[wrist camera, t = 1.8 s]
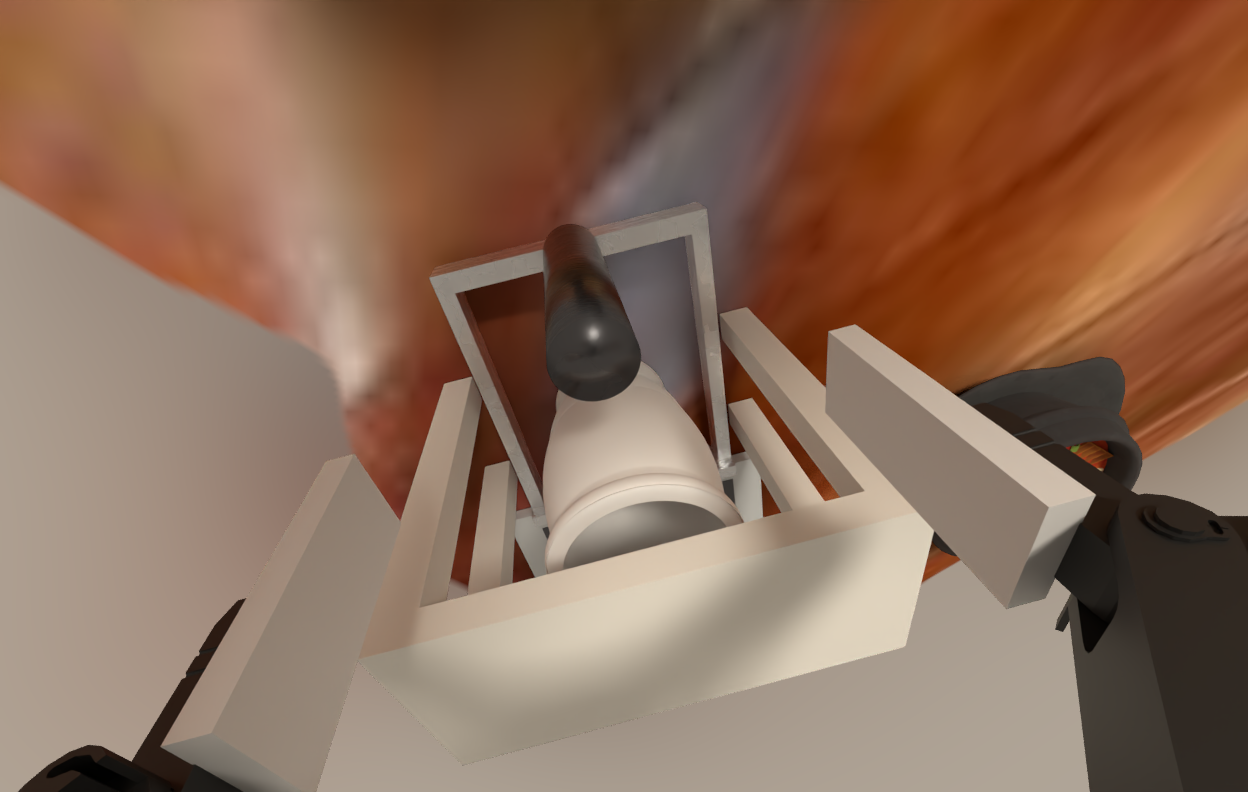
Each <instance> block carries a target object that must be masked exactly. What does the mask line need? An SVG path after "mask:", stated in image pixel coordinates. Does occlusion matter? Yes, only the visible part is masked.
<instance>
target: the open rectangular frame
mask: <svg viewBox="0 0 1248 792" xmlns="http://www.w3.org/2000/svg"><path fill="white" fill-rule="evenodd" d="M719 315H720V326H721V336H722V340H723V341H724V342H725V344H726V345H727V346H728V348H729V349H730V350H731V352H732V353H733V354H734V356H735V357H736V358H737V360H738V361H739V362H740V364H741V365H742V366H743V368H744V369H745V370H746V372H747V373H748V374H749V376H750V377H751V378H752V380H753V381H754V382H755V384H756V385H757V386H758V388H759V389H760V390H761V392H762V393H763V394H764V396H765V397H766V398H767V400H768V401H769V402H770V404H771V405H772V406H773V408H774V409H775V410H776V412H777V413H778V414H779V416H780V417H781V418H782V420H783V421H784V422H785V424H786V425H787V426H788V428H789V429H790V430H791V432H792V433H793V434H794V436H795V437H796V438H797V440H798V441H799V443H800V444H801V445H802V447H803V448H804V449H805V451H806V452H807V453H808V455H809V456H810V457H811V459H812V460H813V461H814V463H815V464H816V465H817V467H818V468H819V469H820V471H821V472H822V473H823V475H824V476H825V477H826V479H827V480H828V481H829V483H830V484H831V485H832V487H833V488H834V489H835V491H836V492H837V493H838V495H839V496H840V497H841V498H837V499H833V500H829V501H824V500H823V498H822V497H821V496H820V494H819V493H818V491H817V490H816V488H815V487H814V486H813V484H812V483H811V481H810V480H809V478H808V477H807V476H806V474H805V473H804V471H803V470H802V468H801V467H800V466H799V464H798V463H797V461H796V460H795V459H794V457H793V456H792V454H791V453H790V451H789V450H788V449H787V447H786V446H785V444H784V443H783V441H782V440H781V439H780V437H779V436H778V434H777V433H776V431H775V430H774V429H773V427H772V426H771V424H770V423H769V421H768V420H767V419H766V417H765V416H764V414H763V413H762V412H761V410H760V409H759V407H758V406H757V404H756V403H755V402H754V400H753V399H752V398H750V399H746V400H742V401H738V402H734V403H731V404H728V410H729V420H730V425H731V426H732V428H733V430H734V432H735V433H736V435H737V437H738V439H739V440H740V442H741V444H742V445H743V447H744V449H745V451H746V452H742V453H739V454H735V455H731V458H732V460H733V461H734V463H735V465H736V475H734V476H730V477H726V478H722V479H721V481H722V485H723V489H724V494H726V495H727V496H728V497H729V498H730V499H731V500H732V502H733V503H734V504H735V505H736V507H737V509H738V510H739V512H740V514H741V516H742V519H743V520H744V523H741V524H738V525H734V526H730V527H726V528H722V529H719V530H715V531H711V532H707V533H703V534H700V535H696V536H692V537H688V538H684V539H680V540H677V541H673V542H669V543H665V544H661V545H658V546H654V547H650V548H646V549H642V550H639V551H635V552H631V553H627V554H623V555H619V556H616V557H612V558H608V559H604V560H600V561H597V562H593V563H589V564H585V565H581V566H578V567H574V568H570V569H566V570H562V571H558V572H555V573H551V574H547V575H546V567H545V549H546V544H547V540H548V538H549V535H550V532H549V528H548V524H545V525H541V526H538V527H536V526H535V524H534V521H533V519H532V507H530V508H527V509H523V510H519V511H516V501H517V481H518V478H517V476H516V474H515V471H514V469H513V467H512V465H511V462H510V460H509V461H505V462H501V463H497V464H494V465H490V466H486V467H485V471H484V478H483V485H482V492H481V500H480V507H479V514H478V521H477V528H476V535H475V543H474V550H473V557H472V564H471V571H470V579H469V586H468V593H467V596H463V597H459V598H456V599H452V600H448V601H446V599H447V594H448V589H449V583H450V578H451V572H452V567H453V561H454V555H455V550H456V544H457V539H458V533H459V527H460V522H461V516H462V510H463V505H464V499H465V494H466V488H467V482H468V477H469V471H470V466H471V460H472V454H473V449H474V443H475V438H476V432H477V426H478V421H479V415H480V410H481V404H482V398H481V396H480V393H479V391H478V389H477V387H476V384H475V382H474V380H473V378H472V377H469V378H465V379H461V380H457V381H453V382H449V383H445V384H444V386H443V389H442V392H441V395H440V398H439V402H438V405H437V408H436V411H435V414H434V417H433V420H432V424H431V427H430V430H429V433H428V436H427V439H426V442H425V446H424V449H423V452H422V455H421V458H420V461H419V464H418V467H417V471H416V474H415V477H414V480H413V483H412V486H411V489H410V493H409V496H408V499H407V502H406V505H405V508H404V511H403V515H402V518H401V521H400V522H401V526H400V529H399V532H398V536H397V539H396V542H395V545H394V548H393V551H392V555H391V558H390V561H389V564H388V567H387V570H386V573H385V577H384V580H383V583H382V586H381V589H380V592H379V595H378V599H377V602H376V605H375V608H374V611H373V614H372V617H371V621H370V624H369V627H368V630H367V633H366V636H365V640H364V643H363V646H362V649H361V652H360V655H359V658H358V662H359V663H360V664H361V665H362V666H363V667H364V668H365V669H366V670H367V671H368V672H369V673H370V674H371V675H372V676H373V677H374V678H375V679H376V680H377V681H378V682H379V683H380V684H381V685H382V686H383V687H384V688H385V689H386V690H387V691H388V692H389V693H390V694H391V695H392V696H393V697H394V698H395V699H396V700H397V701H398V702H399V703H400V704H401V705H402V706H403V707H404V708H405V709H406V710H407V711H408V712H409V713H410V714H411V715H412V716H413V717H414V718H415V719H416V720H417V721H418V722H420V724H421V725H422V726H423V727H424V728H425V729H426V730H427V731H428V732H429V733H430V734H431V735H432V736H433V737H434V738H435V739H437V741H439V742H440V744H441V745H443V746H444V747H445V748H446V749H447V750H448V751H449V752H450V753H451V754H452V755H453V756H454V757H455V758H456V759H457V760H458V761H459V762H460V763H461V764H462V765H467V764H470V763H474V762H478V761H481V760H485V759H489V758H493V757H497V756H500V755H504V754H508V753H512V752H515V751H519V750H523V749H526V748H530V747H533V746H537V745H541V744H545V743H549V742H552V741H556V740H560V739H563V738H567V737H571V736H575V735H578V734H582V733H586V732H590V731H593V730H597V729H601V728H604V727H608V726H612V725H616V724H619V723H623V722H627V721H630V720H634V719H638V718H641V717H645V716H649V715H653V714H656V713H660V712H664V711H668V710H671V709H675V708H679V707H683V706H686V705H690V704H694V703H697V702H701V701H705V700H709V699H712V698H716V697H720V696H723V695H727V694H731V693H735V692H738V691H742V690H746V689H749V688H753V687H757V686H760V685H764V684H768V683H772V682H775V681H779V680H783V679H787V678H790V677H794V676H797V675H801V674H805V673H809V672H813V671H816V670H820V669H824V668H827V667H831V666H835V665H839V664H842V663H846V662H850V661H854V660H857V659H861V658H864V657H868V656H872V655H876V654H880V653H883V652H887V651H891V650H894V649H898V648H901V647H905V645H906V641H907V637H908V633H909V629H910V625H911V621H912V617H913V613H914V609H915V605H916V601H917V597H918V593H919V589H920V585H921V581H922V577H923V573H924V569H925V565H926V561H927V557H928V553H929V549H930V545H931V541H932V537H933V533H934V530H933V529H932V528H931V527H930V526H929V525H928V523H927V522H926V521H925V520H924V519H923V518H922V517H921V516H920V515H919V514H918V513H917V512H916V510H915V509H914V508H913V507H912V506H911V505H910V504H909V503H908V502H907V501H906V500H905V498H904V497H903V496H902V495H901V494H900V493H899V492H898V491H897V490H896V489H895V488H894V487H893V485H892V484H891V483H890V482H889V481H888V480H887V479H886V478H885V477H884V476H883V475H882V474H881V472H880V471H879V470H878V469H877V468H876V467H875V466H874V465H873V464H872V463H871V462H870V460H869V459H868V458H867V457H866V456H865V455H864V454H863V453H862V452H861V451H860V450H859V449H858V447H857V446H856V445H855V444H854V443H853V442H852V441H851V440H850V439H849V438H848V437H847V435H846V434H845V433H844V432H843V431H842V430H841V429H840V428H839V427H838V426H837V425H836V424H835V422H834V421H833V420H832V419H831V418H830V417H829V416H828V415H827V414H826V413H825V403H826V388H825V387H824V386H823V385H822V384H821V383H820V382H819V381H818V380H817V379H816V378H815V377H814V376H813V375H812V374H811V373H810V372H809V371H808V370H807V369H806V367H805V366H804V365H803V364H802V363H801V362H800V361H799V360H798V359H797V358H796V357H795V356H794V355H793V354H792V353H791V352H790V351H789V350H788V349H787V348H786V347H785V346H784V345H783V344H782V343H781V342H780V341H779V340H778V339H777V338H776V337H775V336H774V335H773V334H772V333H771V332H770V331H769V330H768V328H767V327H766V326H765V325H764V324H763V323H762V322H761V321H760V320H759V319H758V318H757V317H756V316H755V315H754V314H753V313H752V312H751V311H750V310H749V309H748V308H747V307H745V308H741V309H737V310H733V311H729V312H725V313H721V314H719ZM761 478H762V480H763V482H764V483H765V485H766V487H767V488H768V490H769V492H770V494H771V495H772V497H773V499H774V500H775V502H776V504H777V506H778V507H779V509H780V511H781V513H780V514H776V515H772V516H768V517H764V518H763V512H762V493H761ZM515 538H516V540H517V542H518V544H519V546H520V548H521V550H522V552H523V554H524V556H525V558H526V560H527V562H528V564H529V566H530V568H531V570H532V572H533V574H534V576H535V578H532V579H528V580H524V581H520V582H517V583H513V584H512V580H513V560H514V540H515Z"/></svg>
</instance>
